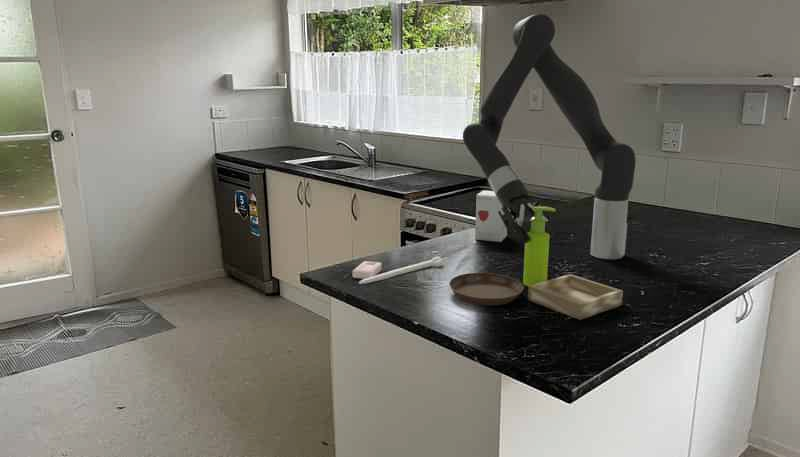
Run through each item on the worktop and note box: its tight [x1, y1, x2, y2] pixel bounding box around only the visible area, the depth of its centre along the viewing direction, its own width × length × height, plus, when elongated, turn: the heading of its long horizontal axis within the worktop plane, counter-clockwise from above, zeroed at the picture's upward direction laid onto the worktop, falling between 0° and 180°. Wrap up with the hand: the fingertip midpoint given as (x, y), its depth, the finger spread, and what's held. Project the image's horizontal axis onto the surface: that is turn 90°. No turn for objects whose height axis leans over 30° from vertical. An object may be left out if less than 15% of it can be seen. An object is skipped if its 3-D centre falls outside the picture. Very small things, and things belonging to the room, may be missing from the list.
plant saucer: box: [448, 272, 524, 307], centre depth 144 cm, size 18×18×3 cm
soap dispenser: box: [522, 205, 556, 288], centre depth 150 cm, size 6×7×20 cm
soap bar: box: [351, 260, 383, 280], centre depth 161 cm, size 5×9×2 cm, turn 163°
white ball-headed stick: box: [358, 256, 444, 285], centre depth 160 cm, size 28×4×3 cm, turn 130°
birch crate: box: [527, 273, 624, 321], centre depth 139 cm, size 15×15×4 cm
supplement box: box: [474, 189, 508, 243], centre depth 195 cm, size 9×9×15 cm
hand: (539, 239), depth 149 cm, fingers open, 8 cm apart
